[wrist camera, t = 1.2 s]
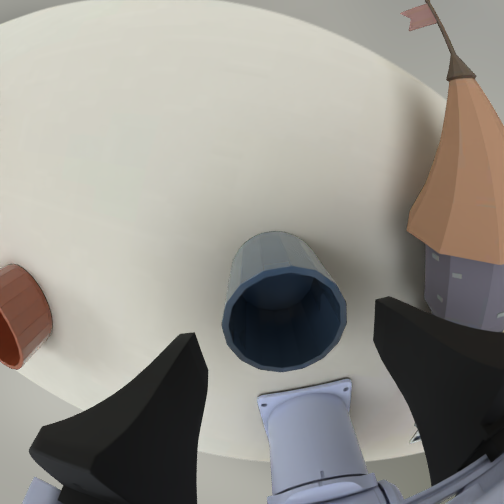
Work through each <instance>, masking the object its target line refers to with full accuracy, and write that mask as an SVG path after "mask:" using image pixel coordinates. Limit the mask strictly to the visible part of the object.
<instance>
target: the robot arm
mask: <svg viewBox="0 0 504 504" xmlns="http://www.w3.org/2000/svg"><path fill="white" fill-rule="evenodd" d="M373 341H374V343H375V346H376V348H377V351H378V353H379V355H380V357H381V360H382V361H383V363H384V365H385V366H386V368H387V370H388V371H389V373H390V374H391V376H392V378H393V379H394V381H395V383H396V384H397V386H398V388H399V389H400V391H401V393H402V394H403V396H404V398H405V400H406V402H407V404H408V406H409V408H410V410H411V413H412V415H413V418H414V420H415V423H416V426H417V429H418V432H419V434H420V437H421V440H422V444H423V447H424V451H425V455H426V458H427V463H428V468H429V473H430V478H431V485H432V487H430V488H428V489H426V490H424V491H422V492H420V493H418V494H416V495H413V496H411V497H409V498H407V499H403V496H402V494H401V492H400V491H399V489H398V488H397V486H395V484H393V483H390V482H388V481H387V480H381V481H378V482H377V480H376V477H375V474H374V473H370V474H369V473H368V470H367V467H366V464H365V461H364V458H363V455H362V452H361V449H360V446H359V443H358V440H357V437H356V434H355V431H354V428H353V425H352V422H351V419H350V416H349V410H350V401H351V389H352V382H351V380H350V379H343V380H339V381H335V382H331V383H326V384H322V385H317V386H313V387H308V388H302V389H297V390H292V391H286V392H280V393H273V394H266V395H261V396H259V397H258V398H257V403H258V406H259V410H260V413H261V417H262V420H263V424H264V427H265V430H266V434H267V437H268V440H269V447H270V462H271V475H272V476H271V477H272V493H273V496H268V497H267V504H440V503H441V502H443V501H445V500H446V499H449V498H450V497H452V496H454V495H455V494H456V496H455V497H454V498H453V499H451V500H450V501H449V502H447V503H445V504H504V333H502V332H493V331H487V330H481V329H476V328H472V327H468V326H464V325H460V324H457V323H454V322H451V321H448V320H445V319H442V318H440V317H437V316H435V315H432V314H430V313H427V312H425V311H423V310H420V309H418V308H416V307H413V306H411V305H409V304H407V303H404V302H402V301H400V300H397V299H395V298H392V297H389V296H388V297H384V298H381V299H377V300H375V322H374V337H373ZM207 389H208V368H207V366H206V363H205V360H204V357H203V355H202V352H201V349H200V346H199V344H198V341H197V338H196V335H195V332H194V333H185V334H180V335H179V336H177V337H176V338H175V339H174V340H173V341H172V342H171V343H170V344H169V345H168V346H167V347H166V348H165V350H164V351H163V352H162V353H161V354H160V355H159V356H158V357H157V358H156V359H155V360H154V361H153V362H152V363H151V364H150V365H149V366H147V367H146V368H145V369H144V370H143V371H142V372H141V373H140V374H139V375H138V376H136V377H135V378H134V379H133V380H132V381H131V382H129V383H128V384H127V385H126V386H124V387H123V388H122V389H120V390H119V391H117V392H116V393H115V394H113V395H112V396H110V397H108V398H107V399H105V400H104V401H102V402H100V403H98V404H97V405H95V406H93V407H92V408H90V409H88V410H86V411H84V412H82V413H79V414H77V415H75V416H73V417H70V418H67V419H65V420H62V421H59V422H56V423H53V424H49V425H46V426H43V427H42V428H41V429H40V431H39V433H38V435H37V436H36V438H35V440H34V442H33V444H32V446H31V447H30V449H29V453H30V455H31V457H32V458H33V459H34V460H35V462H36V463H37V464H38V465H40V466H41V467H42V468H43V469H44V470H46V472H48V473H49V474H50V475H51V476H52V477H54V478H55V479H56V480H58V481H59V482H60V483H61V484H63V488H62V490H60V489H58V488H56V487H54V486H52V485H51V484H49V483H47V482H45V481H43V480H41V479H39V478H37V477H34V478H33V480H32V482H31V484H30V487H29V489H28V491H27V493H26V496H25V498H24V500H23V502H22V504H197V487H196V472H197V470H196V469H197V448H198V439H199V432H200V427H201V422H202V417H203V412H204V407H205V401H206V396H207ZM263 403H265V404H263Z"/></svg>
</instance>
